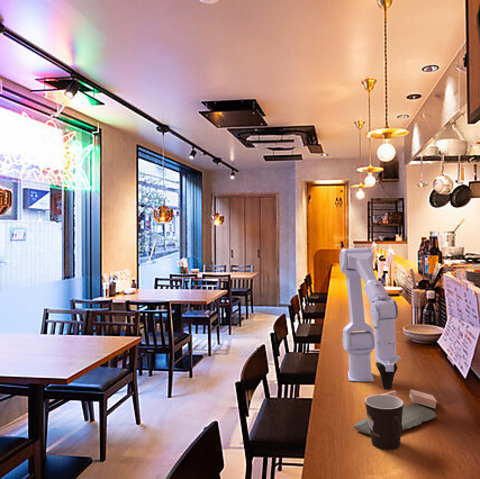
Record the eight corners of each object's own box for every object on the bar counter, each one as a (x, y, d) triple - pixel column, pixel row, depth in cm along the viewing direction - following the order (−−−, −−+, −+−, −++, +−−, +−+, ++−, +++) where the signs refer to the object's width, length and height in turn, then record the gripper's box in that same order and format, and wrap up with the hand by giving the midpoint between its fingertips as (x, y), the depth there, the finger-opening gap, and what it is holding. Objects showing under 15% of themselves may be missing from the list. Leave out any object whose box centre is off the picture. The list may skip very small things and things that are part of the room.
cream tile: (374, 395, 129) (377, 404, 123) (394, 390, 128) (399, 398, 122) (376, 402, 129) (380, 410, 123) (397, 397, 128) (401, 405, 122)
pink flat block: (410, 389, 128) (413, 394, 122) (432, 395, 127) (436, 401, 121) (409, 396, 128) (412, 401, 122) (431, 402, 127) (435, 408, 121)
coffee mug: (366, 433, 110) (365, 393, 110) (403, 436, 108) (402, 395, 107) (366, 457, 99) (364, 412, 99) (407, 461, 96) (405, 415, 96)
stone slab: (439, 422, 116) (407, 406, 124) (440, 412, 116) (407, 396, 124) (380, 447, 104) (349, 427, 113) (381, 436, 104) (350, 417, 113)
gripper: (404, 348, 119) (406, 398, 120) (395, 335, 134) (397, 380, 134) (377, 348, 121) (379, 398, 121) (371, 335, 135) (373, 379, 135)
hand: (387, 388), depth 128 cm, fingers closed
